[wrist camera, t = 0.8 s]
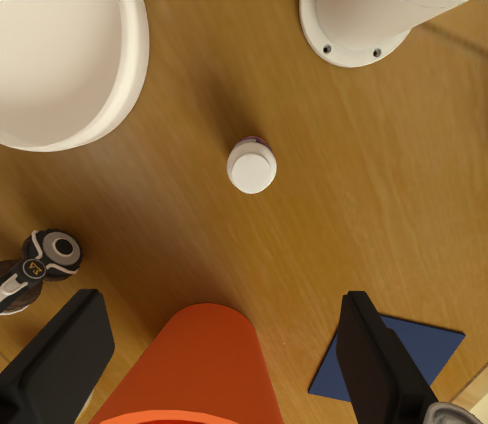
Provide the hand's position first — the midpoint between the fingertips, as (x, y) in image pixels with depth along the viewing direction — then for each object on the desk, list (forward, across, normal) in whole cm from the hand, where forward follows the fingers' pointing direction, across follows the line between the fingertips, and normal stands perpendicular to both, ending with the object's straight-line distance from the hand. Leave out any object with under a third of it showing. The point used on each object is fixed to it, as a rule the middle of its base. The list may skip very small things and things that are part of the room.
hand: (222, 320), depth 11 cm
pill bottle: (+28, -1, -1) cm, 28 cm away
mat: (+28, -23, +35) cm, 50 cm away
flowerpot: (+28, +6, +30) cm, 42 cm away
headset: (+28, +30, +14) cm, 43 cm away
